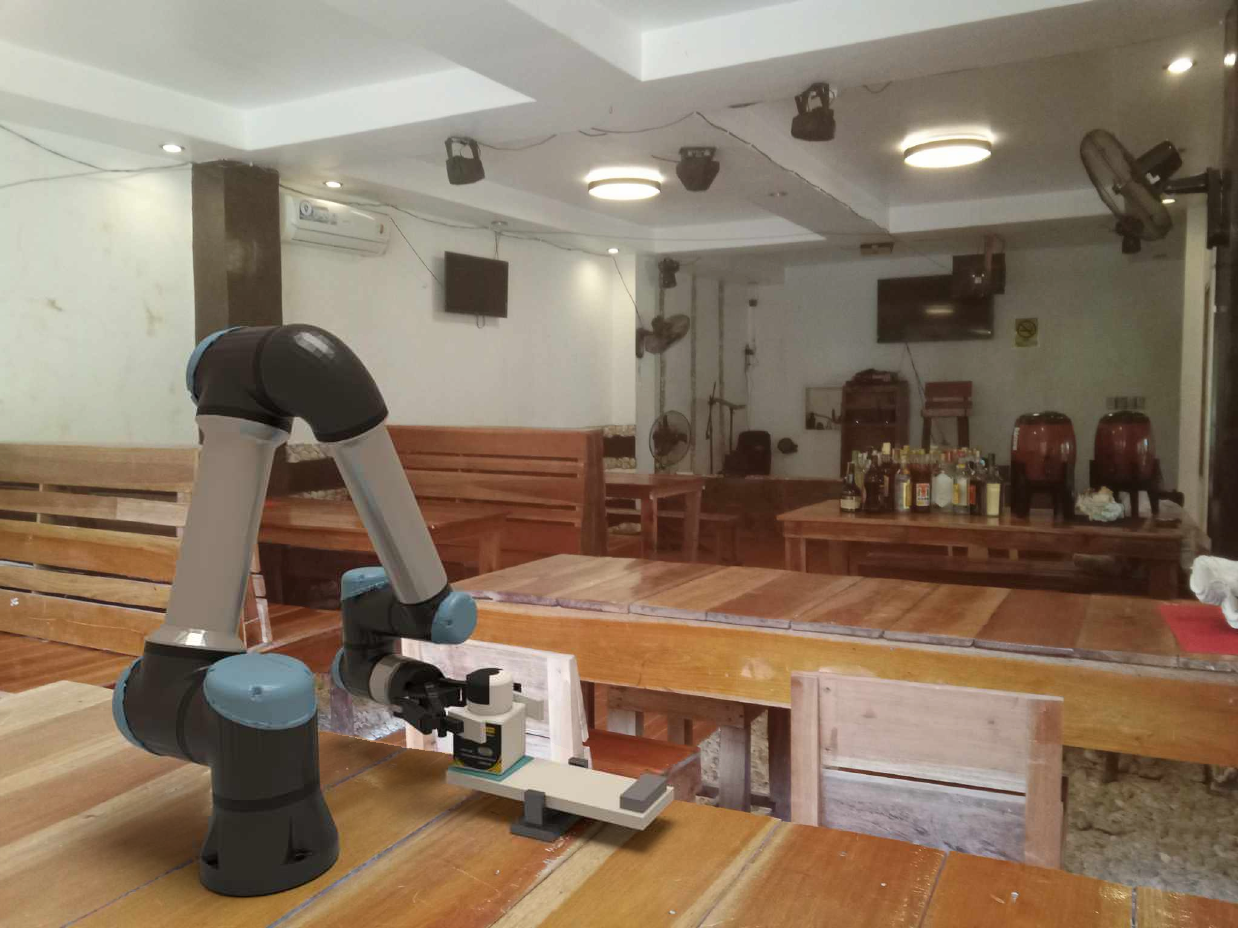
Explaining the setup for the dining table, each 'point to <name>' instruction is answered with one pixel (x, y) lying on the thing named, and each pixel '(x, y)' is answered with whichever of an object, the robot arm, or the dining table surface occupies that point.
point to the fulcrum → (544, 814)
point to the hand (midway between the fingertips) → (513, 720)
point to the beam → (575, 790)
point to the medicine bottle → (492, 723)
